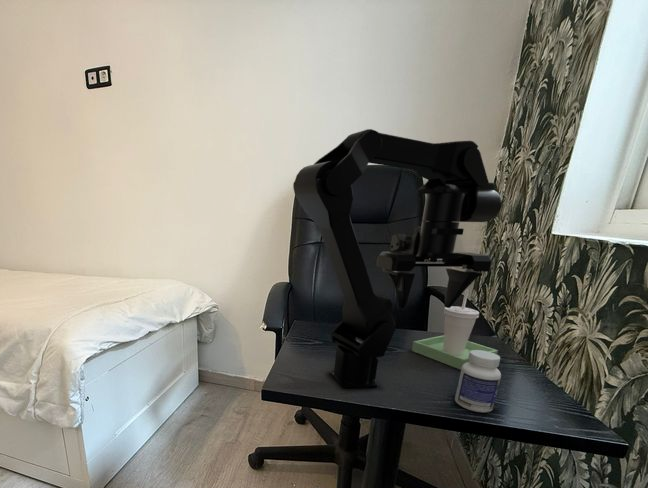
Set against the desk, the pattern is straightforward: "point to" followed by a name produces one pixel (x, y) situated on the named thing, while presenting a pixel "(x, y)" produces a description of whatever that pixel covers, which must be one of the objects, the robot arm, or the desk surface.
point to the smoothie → (458, 327)
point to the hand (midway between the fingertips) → (424, 307)
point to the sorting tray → (435, 351)
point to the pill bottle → (479, 382)
